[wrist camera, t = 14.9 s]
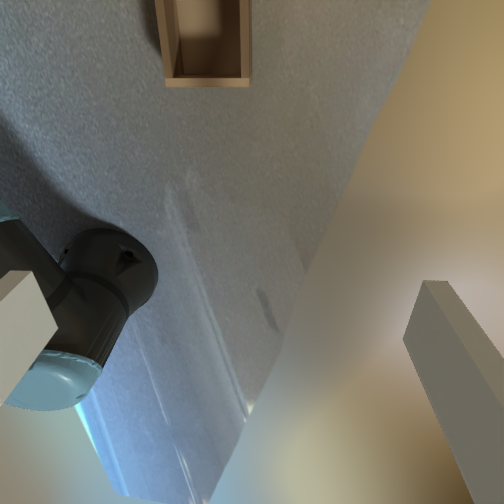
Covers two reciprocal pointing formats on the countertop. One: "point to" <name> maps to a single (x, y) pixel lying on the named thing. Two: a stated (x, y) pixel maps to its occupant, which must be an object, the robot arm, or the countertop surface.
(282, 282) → the countertop surface
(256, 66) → the countertop surface
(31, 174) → the countertop surface
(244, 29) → the small wooden box
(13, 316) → the robot arm
